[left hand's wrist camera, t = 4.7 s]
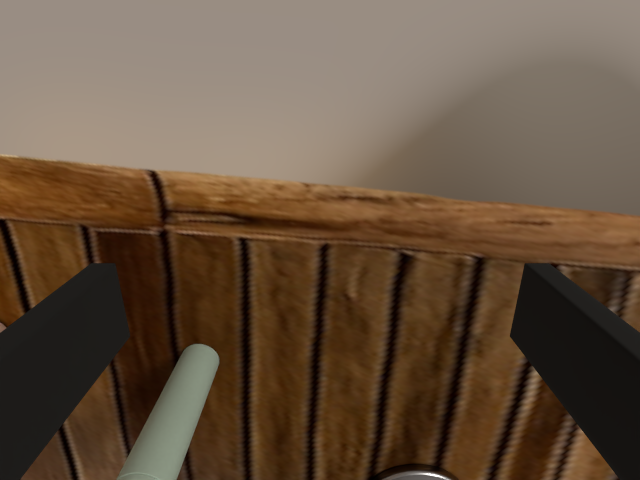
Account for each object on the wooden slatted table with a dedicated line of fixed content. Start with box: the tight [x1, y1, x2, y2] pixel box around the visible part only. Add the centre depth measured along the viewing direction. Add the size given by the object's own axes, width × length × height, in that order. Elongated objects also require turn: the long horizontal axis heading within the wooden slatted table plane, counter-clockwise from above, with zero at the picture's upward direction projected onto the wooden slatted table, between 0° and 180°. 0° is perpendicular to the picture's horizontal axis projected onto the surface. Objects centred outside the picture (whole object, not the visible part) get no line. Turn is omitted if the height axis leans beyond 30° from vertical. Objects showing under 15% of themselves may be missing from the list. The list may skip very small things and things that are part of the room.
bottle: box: [116, 344, 219, 480], centre depth 37 cm, size 5×5×22 cm
